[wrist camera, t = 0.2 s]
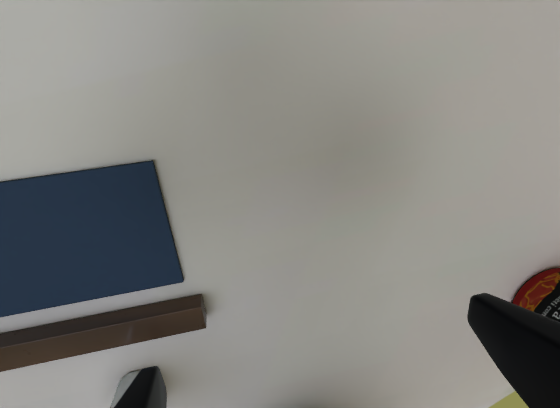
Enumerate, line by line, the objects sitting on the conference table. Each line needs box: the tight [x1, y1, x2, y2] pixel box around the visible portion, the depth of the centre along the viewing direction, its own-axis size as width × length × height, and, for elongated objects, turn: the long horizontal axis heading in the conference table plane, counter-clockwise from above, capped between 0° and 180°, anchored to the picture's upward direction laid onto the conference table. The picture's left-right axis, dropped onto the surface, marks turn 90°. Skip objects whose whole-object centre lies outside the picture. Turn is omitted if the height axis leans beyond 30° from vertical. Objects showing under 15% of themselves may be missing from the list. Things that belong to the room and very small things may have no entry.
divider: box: [0, 294, 206, 372], centre depth 24 cm, size 2×15×2 cm, turn 95°
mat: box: [0, 161, 184, 317], centre depth 22 cm, size 9×13×1 cm
